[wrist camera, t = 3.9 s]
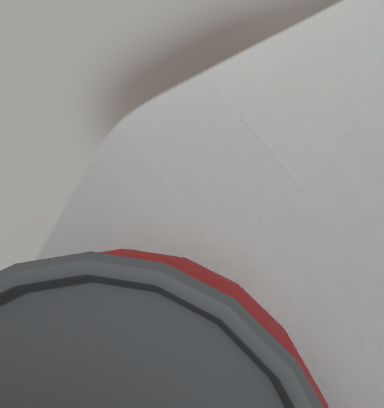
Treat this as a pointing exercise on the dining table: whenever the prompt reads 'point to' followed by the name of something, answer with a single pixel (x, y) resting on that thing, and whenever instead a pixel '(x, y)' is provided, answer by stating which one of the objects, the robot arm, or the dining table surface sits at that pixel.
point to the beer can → (141, 338)
